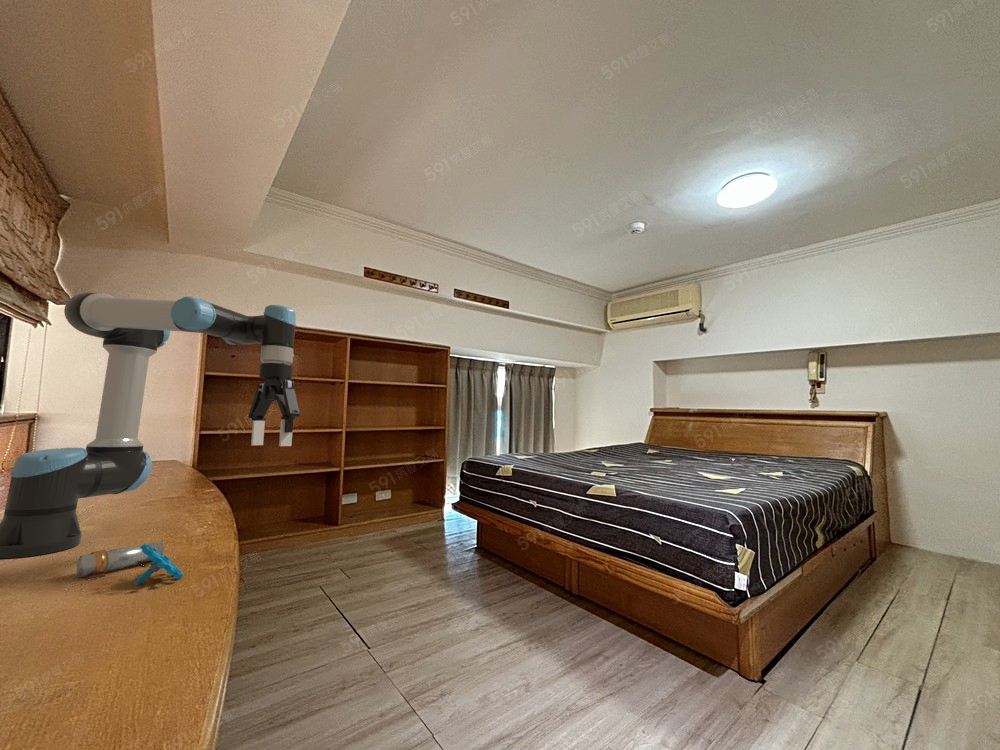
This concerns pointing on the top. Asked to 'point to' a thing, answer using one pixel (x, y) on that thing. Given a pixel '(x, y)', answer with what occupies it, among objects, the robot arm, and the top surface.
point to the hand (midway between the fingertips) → (270, 445)
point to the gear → (158, 564)
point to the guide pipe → (114, 560)
